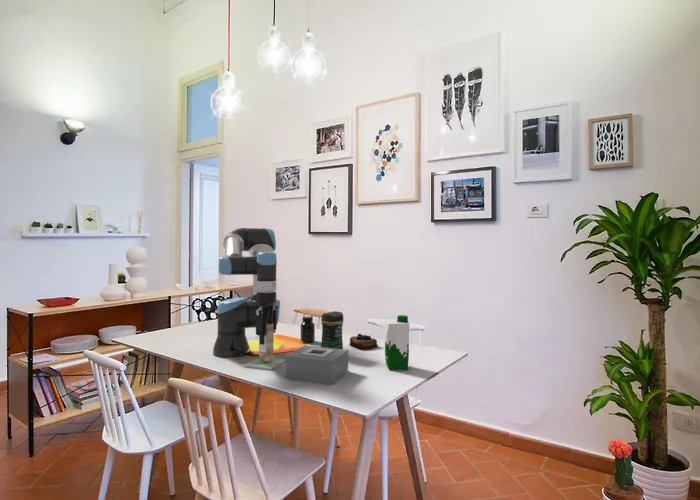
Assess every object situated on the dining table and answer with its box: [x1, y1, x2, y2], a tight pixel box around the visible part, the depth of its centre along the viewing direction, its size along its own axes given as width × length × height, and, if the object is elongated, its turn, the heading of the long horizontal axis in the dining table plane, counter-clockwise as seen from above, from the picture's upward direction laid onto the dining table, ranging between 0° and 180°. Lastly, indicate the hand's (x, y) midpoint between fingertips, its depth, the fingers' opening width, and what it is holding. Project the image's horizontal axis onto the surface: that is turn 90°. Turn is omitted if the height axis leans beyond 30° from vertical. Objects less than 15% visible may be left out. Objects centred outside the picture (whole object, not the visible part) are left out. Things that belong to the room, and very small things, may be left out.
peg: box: [258, 323, 275, 361], centre depth 160 cm, size 4×4×14 cm
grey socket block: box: [284, 344, 349, 386], centre depth 148 cm, size 18×16×8 cm
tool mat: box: [243, 357, 285, 371], centre depth 160 cm, size 12×12×1 cm
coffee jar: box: [320, 310, 344, 349], centre depth 174 cm, size 10×8×19 cm
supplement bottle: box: [300, 316, 316, 344], centre depth 197 cm, size 7×7×12 cm
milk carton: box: [384, 314, 410, 371], centre depth 157 cm, size 9×9×20 cm
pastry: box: [349, 333, 378, 351], centre depth 189 cm, size 11×12×6 cm
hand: (266, 350), depth 160 cm, fingers closed on peg, 4 cm apart
